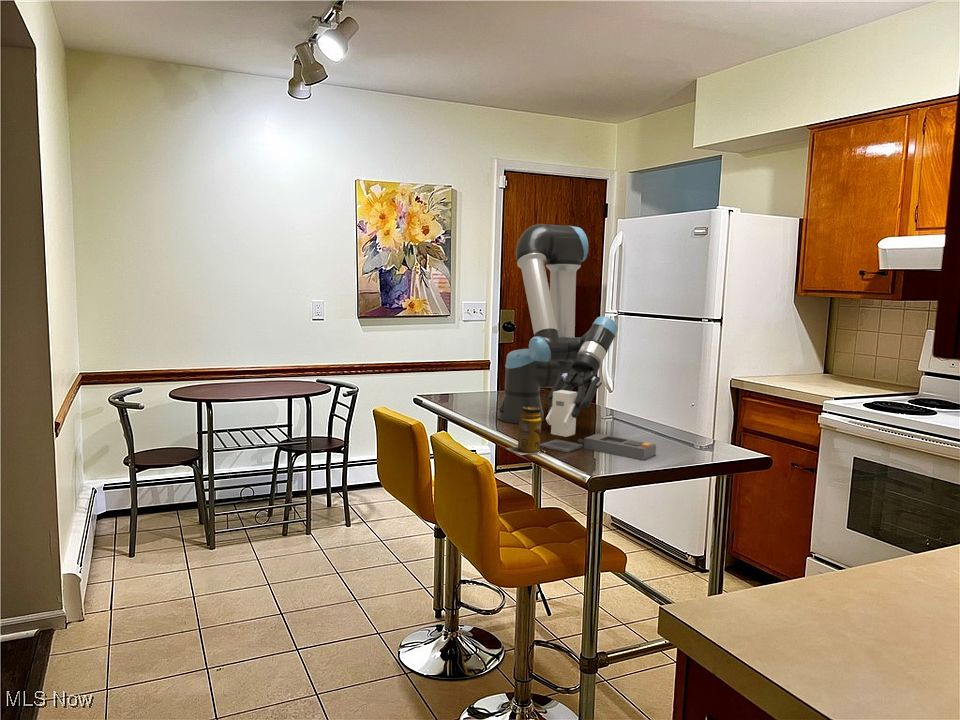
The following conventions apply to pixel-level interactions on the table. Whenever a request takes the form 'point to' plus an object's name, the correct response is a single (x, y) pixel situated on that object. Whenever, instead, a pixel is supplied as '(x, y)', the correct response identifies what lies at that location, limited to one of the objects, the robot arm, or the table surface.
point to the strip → (619, 446)
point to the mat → (561, 445)
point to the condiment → (528, 431)
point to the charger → (562, 412)
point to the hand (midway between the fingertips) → (557, 423)
